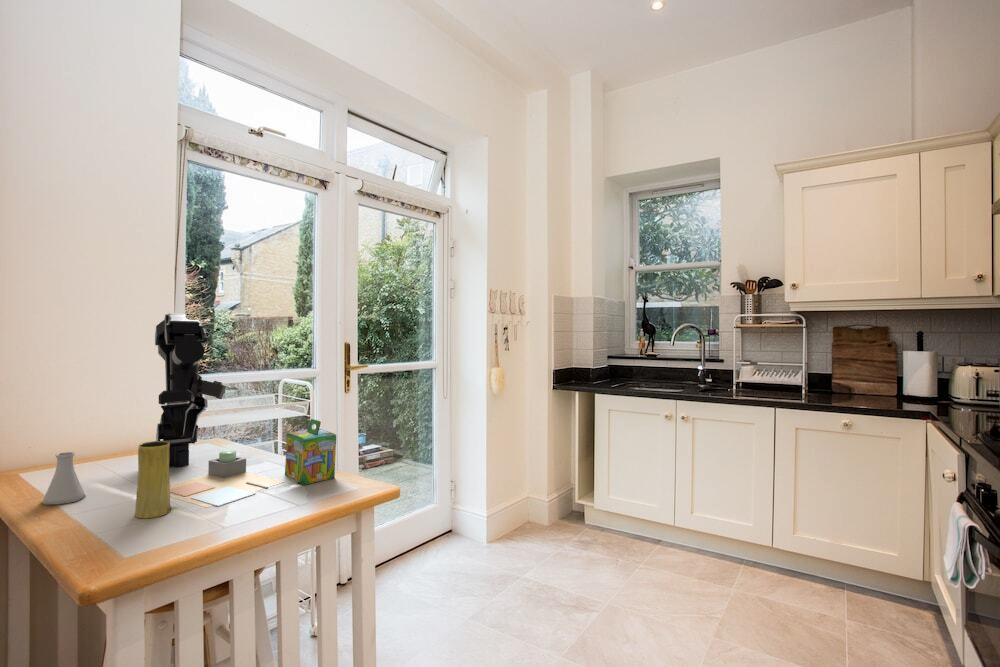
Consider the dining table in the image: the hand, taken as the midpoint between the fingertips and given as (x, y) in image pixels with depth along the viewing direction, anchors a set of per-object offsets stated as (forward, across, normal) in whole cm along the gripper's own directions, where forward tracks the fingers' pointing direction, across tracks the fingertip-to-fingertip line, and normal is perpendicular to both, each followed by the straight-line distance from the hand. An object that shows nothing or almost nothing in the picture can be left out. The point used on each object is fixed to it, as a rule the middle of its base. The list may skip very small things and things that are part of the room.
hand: (185, 437), depth 118 cm
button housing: (+10, +11, -7) cm, 16 cm away
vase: (+15, -11, +4) cm, 19 cm away
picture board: (+13, +1, -7) cm, 14 cm away
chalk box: (+14, +6, -26) cm, 30 cm away
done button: (+8, +10, -7) cm, 15 cm away
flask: (+10, +1, +23) cm, 25 cm away
